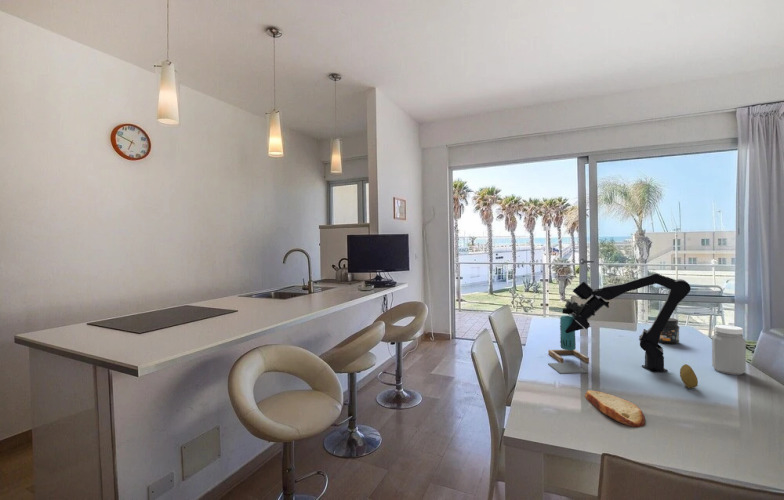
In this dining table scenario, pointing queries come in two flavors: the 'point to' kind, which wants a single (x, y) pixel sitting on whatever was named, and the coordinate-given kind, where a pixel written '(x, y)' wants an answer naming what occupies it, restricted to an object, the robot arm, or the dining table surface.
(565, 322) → the beverage bottle
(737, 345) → the jar
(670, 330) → the supplement container
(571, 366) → the rubber mat
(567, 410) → the dining table surface
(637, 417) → the bread slice
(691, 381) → the potato
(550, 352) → the frame
